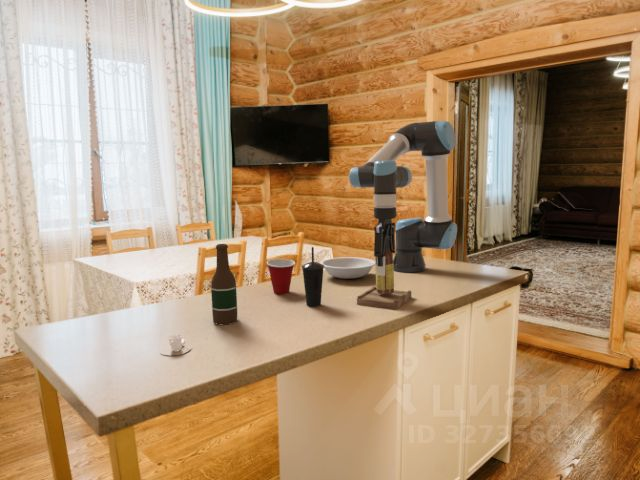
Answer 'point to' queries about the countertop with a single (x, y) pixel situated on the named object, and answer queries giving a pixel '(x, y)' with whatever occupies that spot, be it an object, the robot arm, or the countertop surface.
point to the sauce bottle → (386, 273)
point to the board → (383, 298)
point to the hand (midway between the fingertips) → (384, 273)
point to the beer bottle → (223, 289)
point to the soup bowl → (348, 267)
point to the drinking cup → (313, 282)
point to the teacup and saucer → (176, 342)
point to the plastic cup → (281, 274)
